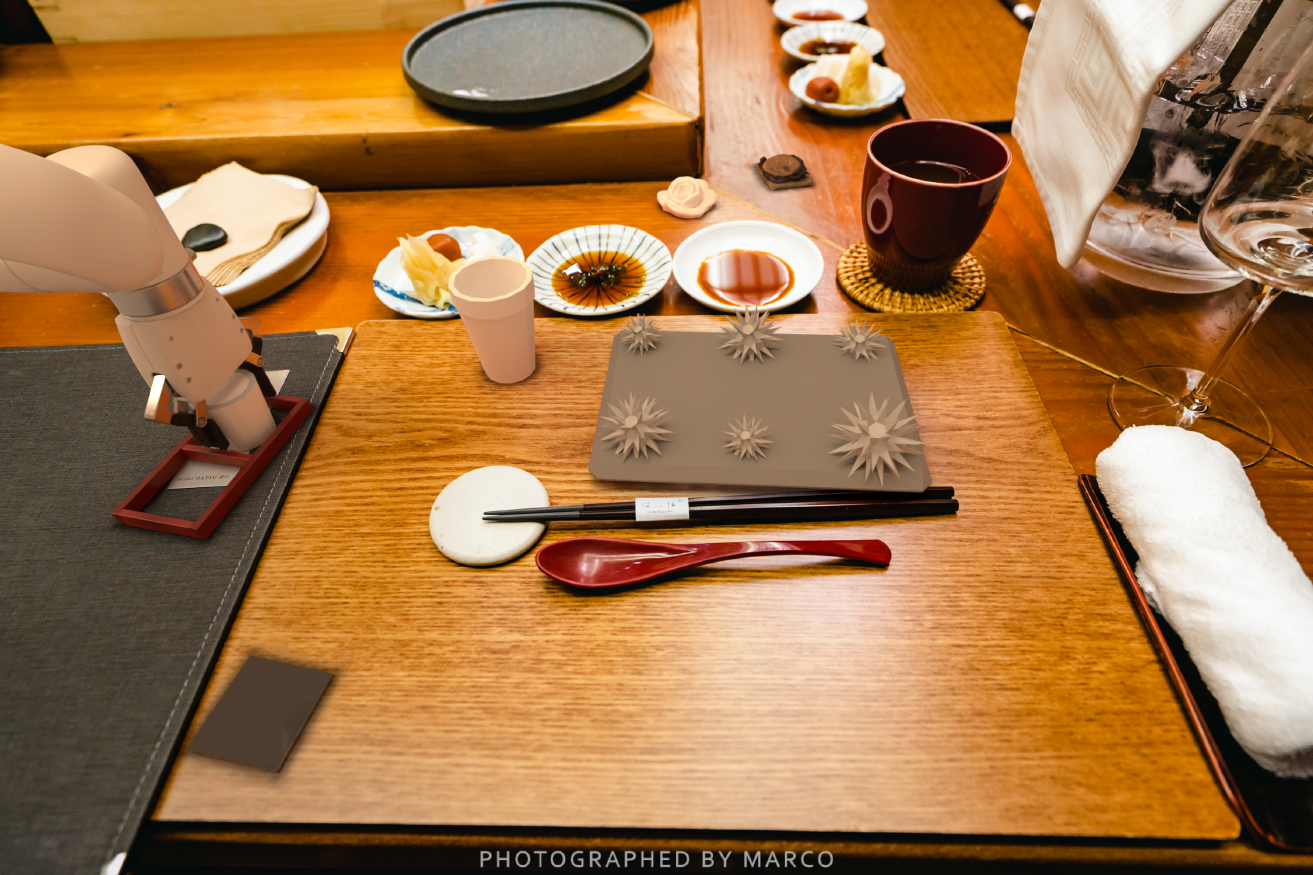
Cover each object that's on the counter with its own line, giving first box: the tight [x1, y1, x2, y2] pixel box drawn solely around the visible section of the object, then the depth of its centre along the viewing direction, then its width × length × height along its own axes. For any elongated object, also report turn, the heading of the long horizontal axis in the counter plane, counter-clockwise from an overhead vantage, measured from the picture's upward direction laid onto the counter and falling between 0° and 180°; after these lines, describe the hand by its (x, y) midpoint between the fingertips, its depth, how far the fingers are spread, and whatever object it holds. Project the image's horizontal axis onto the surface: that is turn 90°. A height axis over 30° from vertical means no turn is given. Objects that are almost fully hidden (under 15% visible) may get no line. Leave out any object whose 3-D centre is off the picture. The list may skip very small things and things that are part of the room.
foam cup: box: [447, 255, 536, 384], centre depth 81 cm, size 10×9×13 cm
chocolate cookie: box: [755, 153, 813, 190], centre depth 120 cm, size 11×8×4 cm
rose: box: [656, 176, 718, 219], centre depth 113 cm, size 10×4×10 cm
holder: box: [110, 394, 314, 540], centre depth 75 cm, size 10×19×2 cm, turn 168°
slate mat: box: [186, 655, 335, 774], centre depth 55 cm, size 8×8×1 cm
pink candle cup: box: [188, 369, 277, 452], centre depth 76 cm, size 7×7×7 cm
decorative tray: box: [587, 304, 933, 493], centre depth 75 cm, size 35×26×10 cm
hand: (241, 418), depth 77 cm, fingers open, 7 cm apart
